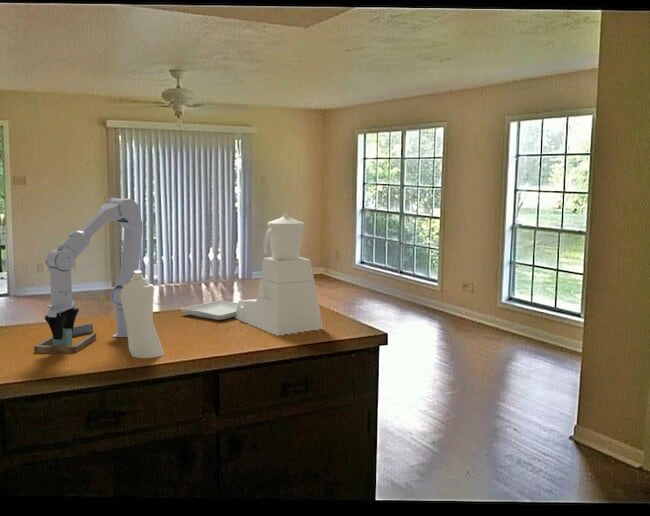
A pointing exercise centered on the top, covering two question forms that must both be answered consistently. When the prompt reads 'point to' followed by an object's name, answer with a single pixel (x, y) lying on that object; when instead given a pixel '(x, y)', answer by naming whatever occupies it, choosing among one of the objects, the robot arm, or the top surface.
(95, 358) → the top surface
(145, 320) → the white bottle
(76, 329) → the gate
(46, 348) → the bay
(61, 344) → the teal block
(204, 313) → the salad plate
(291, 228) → the blender
